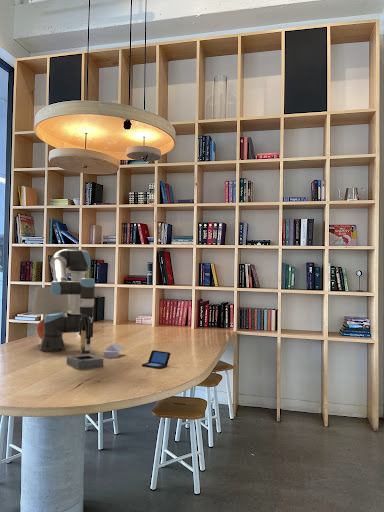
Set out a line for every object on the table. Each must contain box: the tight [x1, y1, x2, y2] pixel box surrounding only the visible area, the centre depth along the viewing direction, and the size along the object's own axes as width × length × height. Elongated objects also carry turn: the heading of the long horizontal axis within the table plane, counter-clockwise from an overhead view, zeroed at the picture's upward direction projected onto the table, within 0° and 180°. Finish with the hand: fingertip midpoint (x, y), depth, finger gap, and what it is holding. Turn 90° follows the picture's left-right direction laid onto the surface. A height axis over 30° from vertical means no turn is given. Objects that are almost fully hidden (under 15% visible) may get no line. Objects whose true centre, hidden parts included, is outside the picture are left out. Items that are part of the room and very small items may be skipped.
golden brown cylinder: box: [80, 330, 91, 355], centre depth 226 cm, size 5×5×12 cm
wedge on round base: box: [103, 342, 125, 359], centre depth 254 cm, size 9×7×13 cm
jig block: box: [66, 353, 104, 370], centre depth 226 cm, size 16×14×4 cm
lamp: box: [31, 286, 70, 344], centre depth 289 cm, size 25×25×39 cm
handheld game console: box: [141, 349, 171, 370], centre depth 229 cm, size 12×11×7 cm
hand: (85, 349), depth 226 cm, fingers closed on golden brown cylinder, 5 cm apart
